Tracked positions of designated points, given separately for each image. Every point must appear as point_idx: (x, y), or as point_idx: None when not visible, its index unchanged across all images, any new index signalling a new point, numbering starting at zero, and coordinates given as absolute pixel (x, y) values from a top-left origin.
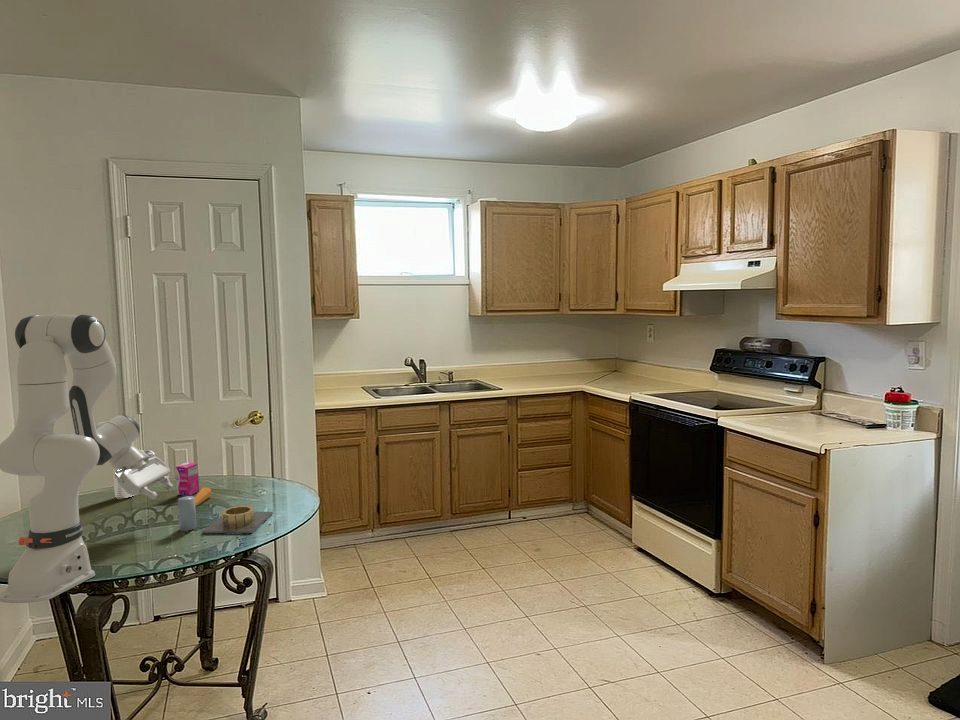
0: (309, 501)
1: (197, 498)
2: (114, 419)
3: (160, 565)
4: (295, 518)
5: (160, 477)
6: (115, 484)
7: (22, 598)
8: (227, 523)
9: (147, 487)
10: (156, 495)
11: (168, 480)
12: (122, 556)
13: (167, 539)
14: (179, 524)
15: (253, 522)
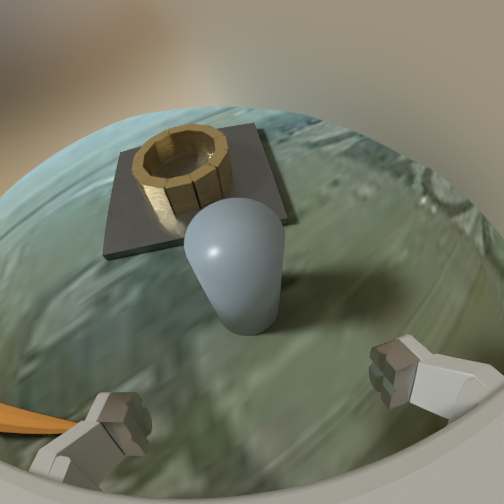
0: (60, 152)
1: (10, 413)
2: None
3: (464, 198)
4: (155, 116)
5: (121, 496)
6: None
7: None
8: (230, 171)
9: (469, 389)
10: (391, 341)
11: (73, 435)
12: (487, 324)
13: (361, 302)
14: (269, 320)
15: None
